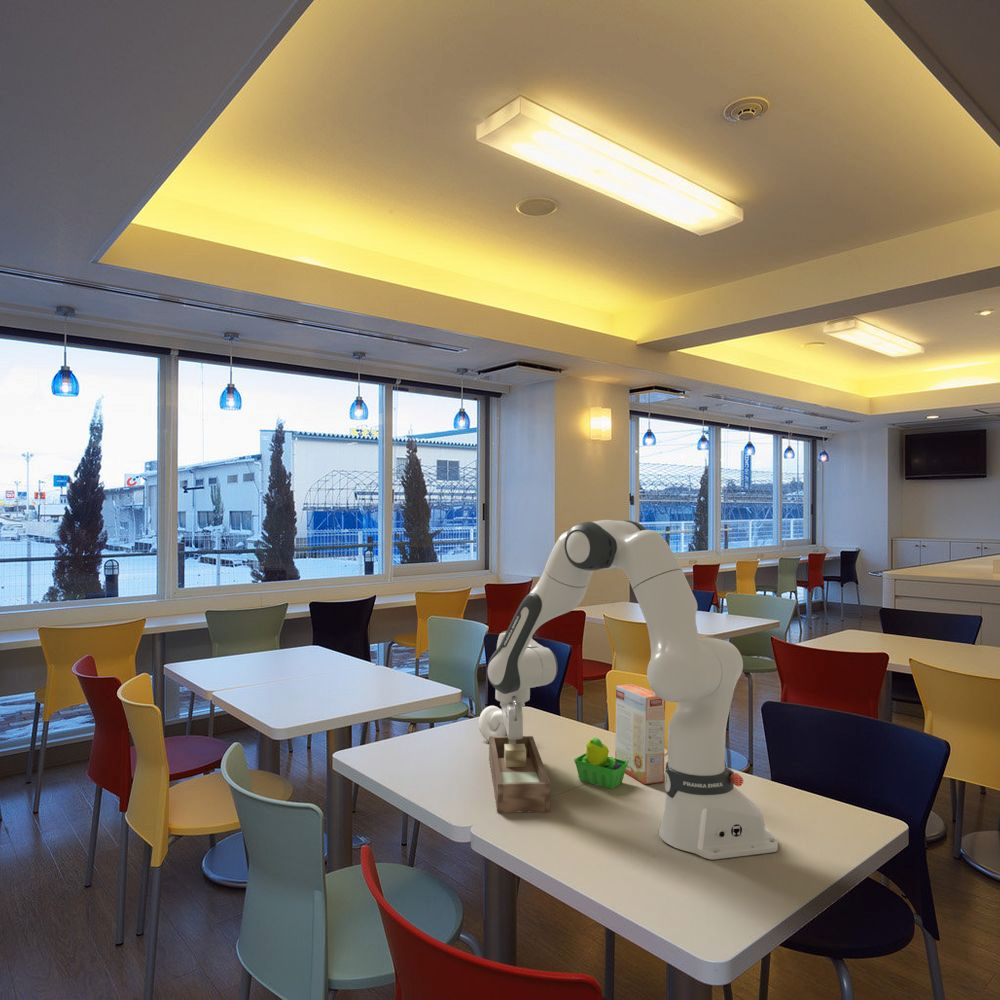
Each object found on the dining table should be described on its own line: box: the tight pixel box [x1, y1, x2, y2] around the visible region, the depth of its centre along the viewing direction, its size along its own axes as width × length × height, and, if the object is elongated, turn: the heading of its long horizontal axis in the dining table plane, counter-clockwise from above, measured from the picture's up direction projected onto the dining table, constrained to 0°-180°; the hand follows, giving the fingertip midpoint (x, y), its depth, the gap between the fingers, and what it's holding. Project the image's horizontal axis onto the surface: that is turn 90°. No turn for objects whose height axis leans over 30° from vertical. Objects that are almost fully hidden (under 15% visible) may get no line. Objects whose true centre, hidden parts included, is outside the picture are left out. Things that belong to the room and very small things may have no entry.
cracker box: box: [614, 683, 666, 785], centre depth 182 cm, size 14×6×21 cm, turn 22°
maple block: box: [504, 744, 526, 767], centre depth 179 cm, size 5×5×4 cm
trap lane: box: [488, 735, 551, 813], centre depth 174 cm, size 11×34×6 cm, turn 4°
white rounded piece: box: [478, 705, 508, 742], centre depth 209 cm, size 11×12×9 cm
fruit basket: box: [573, 737, 628, 790], centre depth 176 cm, size 11×9×11 cm
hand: (511, 746), depth 187 cm, fingers closed
